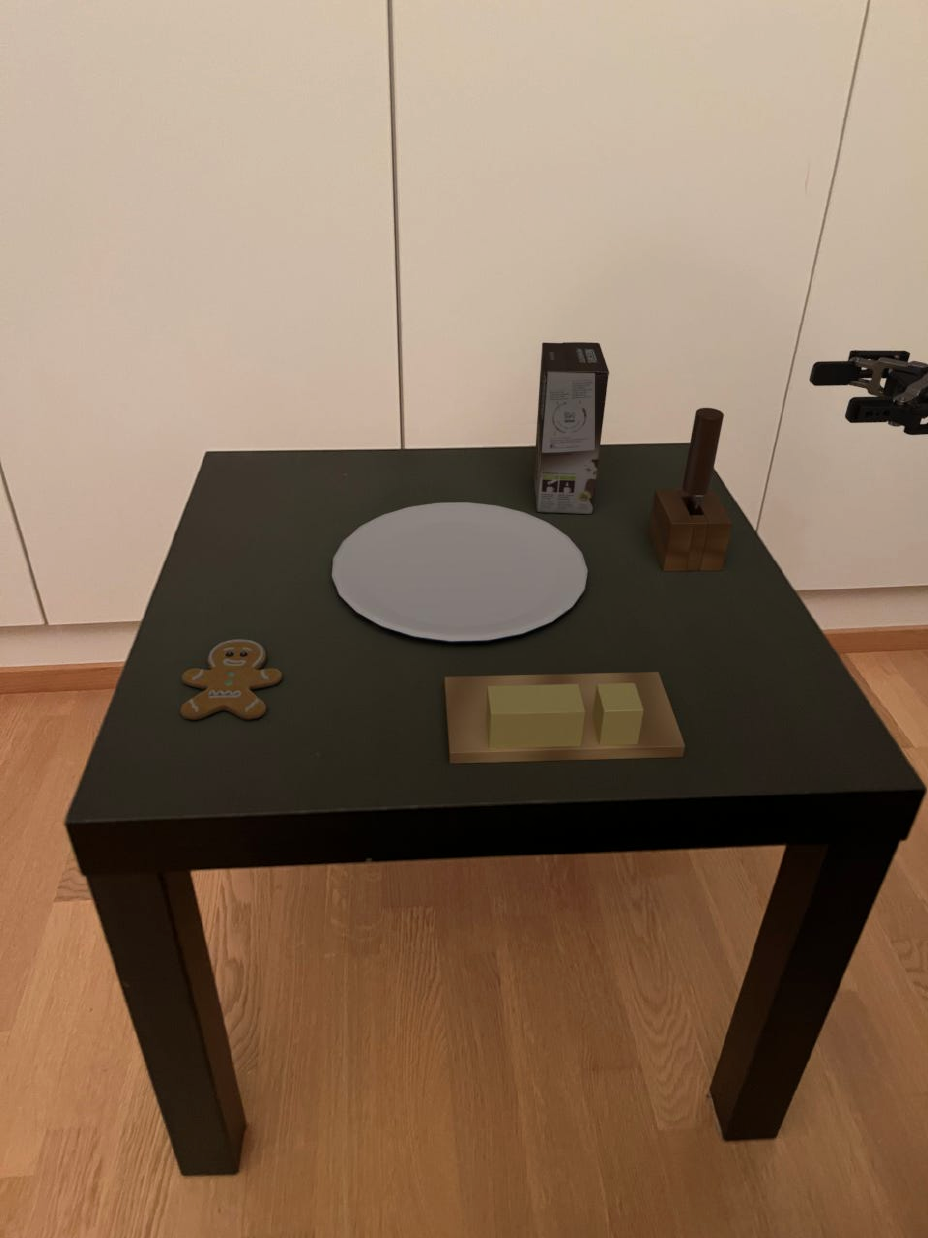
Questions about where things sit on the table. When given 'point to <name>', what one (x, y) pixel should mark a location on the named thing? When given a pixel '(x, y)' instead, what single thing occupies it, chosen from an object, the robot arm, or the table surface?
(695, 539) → the knife block
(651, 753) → the cutting board
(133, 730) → the table surface
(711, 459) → the knife
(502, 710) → the butter
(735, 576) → the table surface
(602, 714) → the butter slice
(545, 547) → the plate
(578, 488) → the coffee box
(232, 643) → the cookie
